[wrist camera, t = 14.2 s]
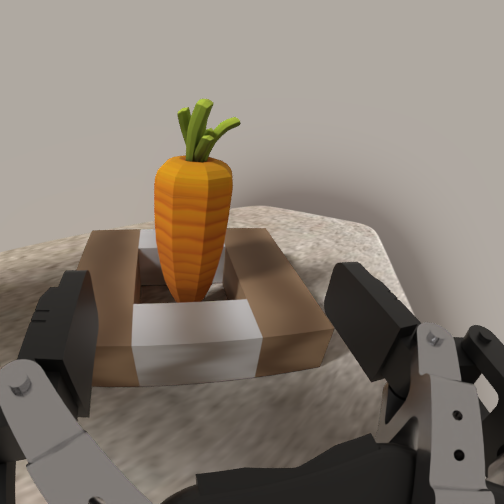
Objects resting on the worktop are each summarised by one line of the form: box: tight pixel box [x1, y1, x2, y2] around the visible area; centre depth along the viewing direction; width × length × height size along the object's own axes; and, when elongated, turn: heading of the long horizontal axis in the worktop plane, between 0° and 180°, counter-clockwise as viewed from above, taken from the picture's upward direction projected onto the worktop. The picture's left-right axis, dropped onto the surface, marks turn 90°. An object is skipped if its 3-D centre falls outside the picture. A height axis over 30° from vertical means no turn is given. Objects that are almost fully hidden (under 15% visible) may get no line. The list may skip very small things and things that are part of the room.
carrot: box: [154, 99, 240, 303], centre depth 20 cm, size 5×5×15 cm
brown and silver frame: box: [77, 228, 334, 387], centre depth 22 cm, size 16×14×4 cm
